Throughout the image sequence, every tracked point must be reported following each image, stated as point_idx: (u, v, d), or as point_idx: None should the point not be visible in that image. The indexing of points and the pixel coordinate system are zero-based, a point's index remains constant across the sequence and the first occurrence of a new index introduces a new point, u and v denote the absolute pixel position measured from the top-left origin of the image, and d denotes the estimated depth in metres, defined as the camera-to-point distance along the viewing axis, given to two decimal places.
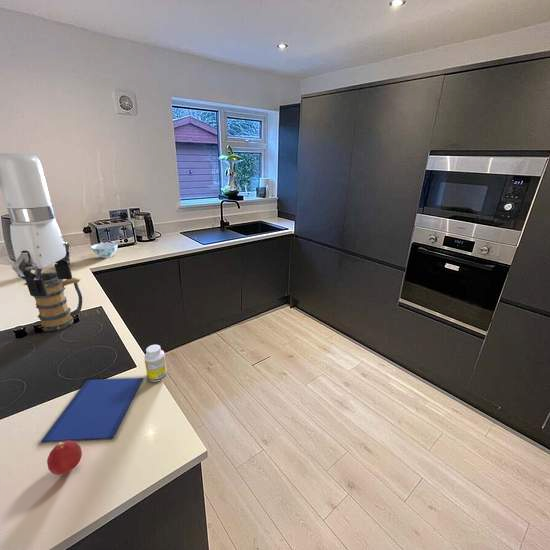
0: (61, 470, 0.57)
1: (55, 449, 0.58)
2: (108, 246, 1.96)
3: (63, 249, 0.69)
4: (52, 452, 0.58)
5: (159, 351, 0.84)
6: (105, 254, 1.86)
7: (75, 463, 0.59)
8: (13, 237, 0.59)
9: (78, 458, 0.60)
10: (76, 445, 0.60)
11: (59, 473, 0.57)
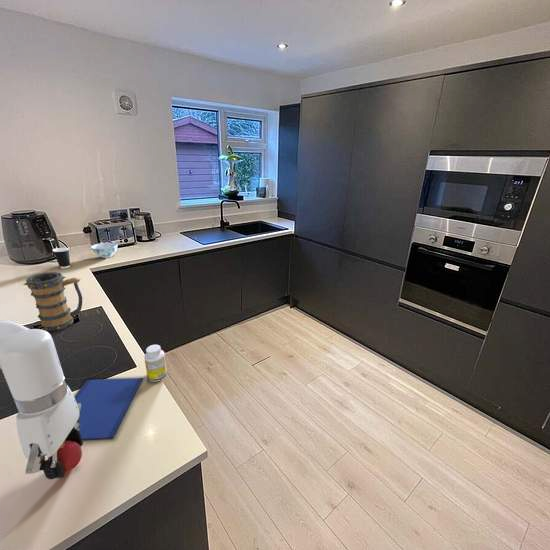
0: None
1: None
2: (108, 246, 1.96)
3: (76, 412, 0.60)
4: None
5: (159, 351, 0.84)
6: (105, 254, 1.86)
7: (75, 463, 0.59)
8: (20, 431, 0.50)
9: (78, 458, 0.60)
10: (76, 445, 0.60)
11: None
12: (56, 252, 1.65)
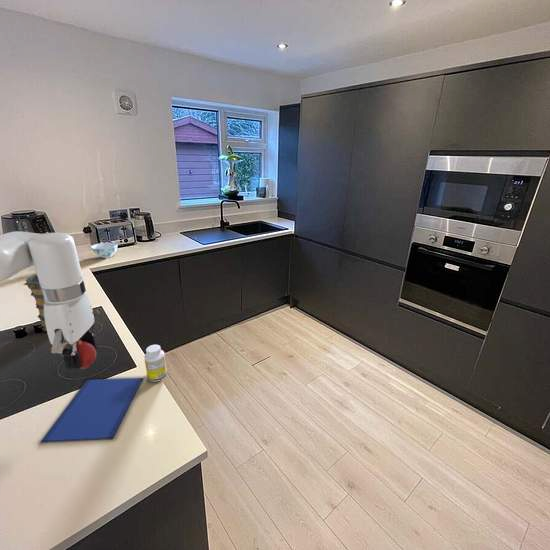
0: None
1: None
2: (108, 246, 1.96)
3: (92, 317, 0.69)
4: None
5: (159, 351, 0.84)
6: (105, 254, 1.86)
7: (91, 359, 0.68)
8: (46, 316, 0.59)
9: (93, 356, 0.69)
10: (92, 345, 0.69)
11: None
12: None
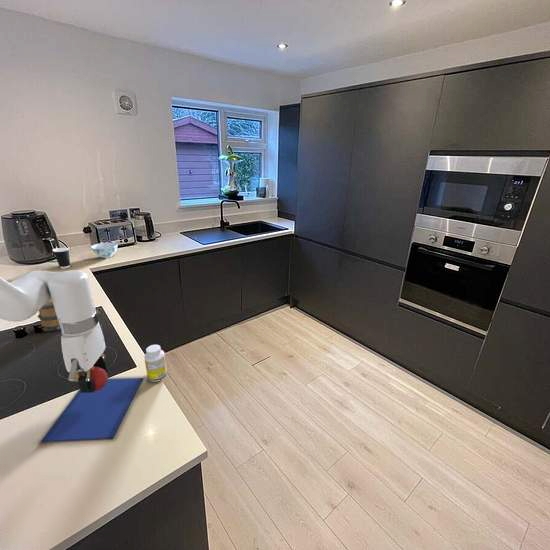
0: None
1: None
2: (108, 246, 1.96)
3: (103, 344, 0.75)
4: None
5: (159, 351, 0.84)
6: (105, 254, 1.86)
7: (103, 383, 0.74)
8: (64, 347, 0.65)
9: (105, 380, 0.74)
10: (103, 370, 0.75)
11: None
12: (56, 252, 1.65)
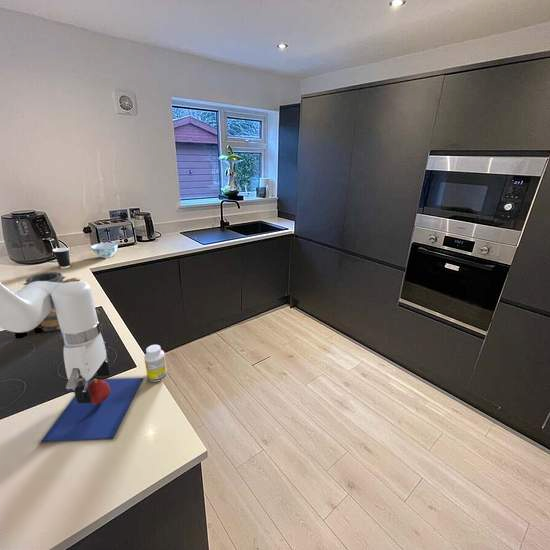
0: (96, 399, 0.74)
1: (91, 383, 0.74)
2: (108, 246, 1.96)
3: (104, 353, 0.76)
4: (88, 386, 0.74)
5: (159, 351, 0.84)
6: (105, 254, 1.86)
7: (106, 395, 0.75)
8: (66, 357, 0.66)
9: (108, 392, 0.76)
10: (106, 382, 0.77)
11: (94, 402, 0.74)
12: (56, 252, 1.65)
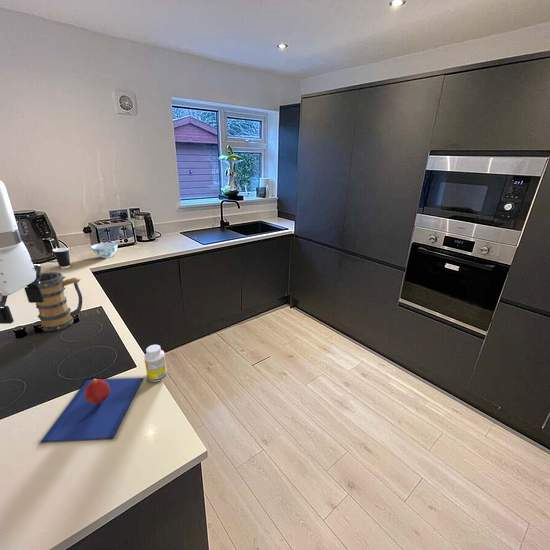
0: (96, 399, 0.74)
1: (91, 383, 0.74)
2: (108, 246, 1.96)
3: (33, 273, 0.67)
4: (88, 386, 0.74)
5: (159, 351, 0.84)
6: (105, 254, 1.86)
7: (106, 395, 0.75)
8: None
9: (108, 392, 0.76)
10: (106, 382, 0.77)
11: (94, 402, 0.74)
12: (56, 252, 1.65)
